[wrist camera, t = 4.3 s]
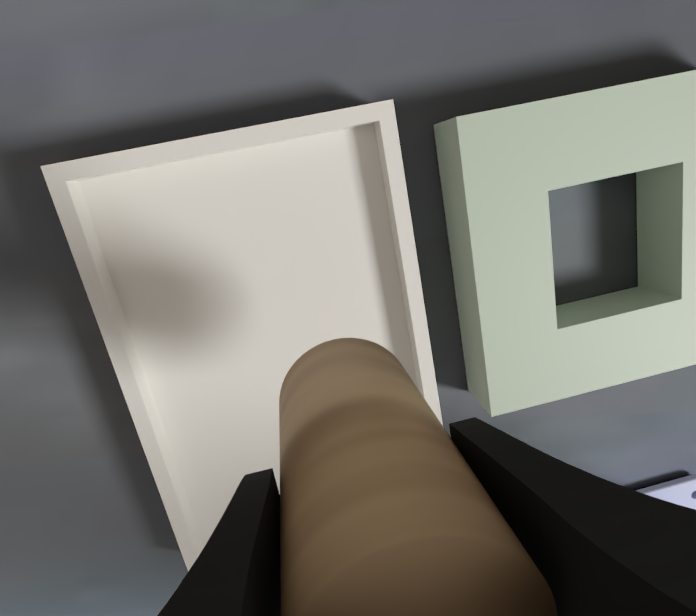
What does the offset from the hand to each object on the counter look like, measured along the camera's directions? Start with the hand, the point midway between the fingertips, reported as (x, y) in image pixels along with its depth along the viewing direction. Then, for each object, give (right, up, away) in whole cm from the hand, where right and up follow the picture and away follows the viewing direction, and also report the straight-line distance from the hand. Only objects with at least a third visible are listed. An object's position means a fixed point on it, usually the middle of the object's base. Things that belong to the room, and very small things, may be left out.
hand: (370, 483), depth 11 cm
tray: (-3, +2, +10) cm, 11 cm away
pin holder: (+10, +7, +11) cm, 16 cm away
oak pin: (-1, +1, +4) cm, 4 cm away
